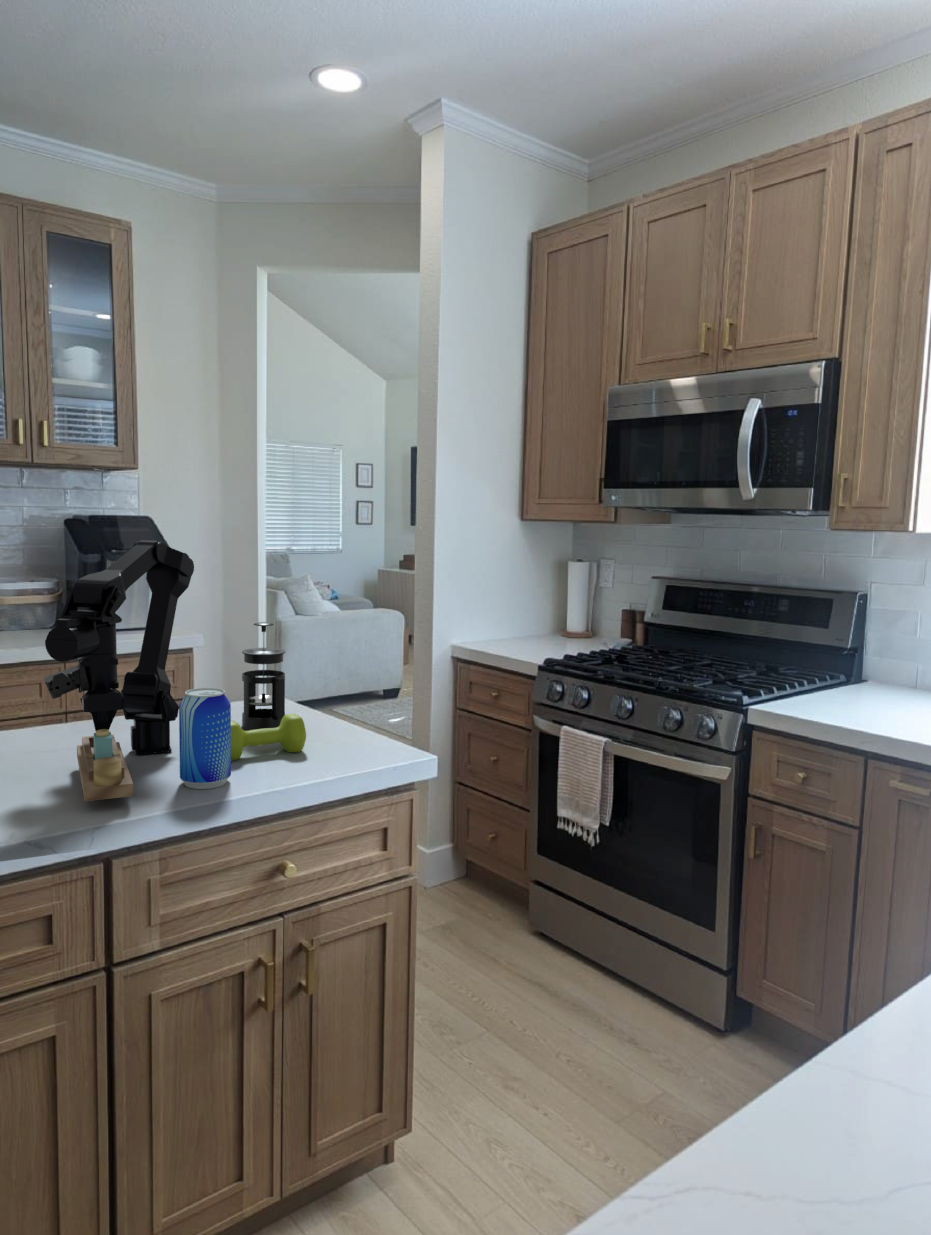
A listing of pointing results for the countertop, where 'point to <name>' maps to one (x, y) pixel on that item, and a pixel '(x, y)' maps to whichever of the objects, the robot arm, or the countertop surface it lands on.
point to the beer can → (205, 738)
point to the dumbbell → (270, 736)
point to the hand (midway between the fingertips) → (101, 740)
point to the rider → (102, 744)
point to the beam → (103, 772)
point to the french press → (263, 717)
